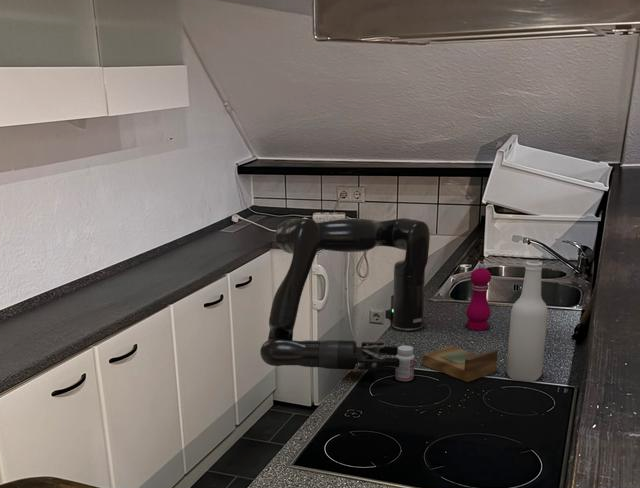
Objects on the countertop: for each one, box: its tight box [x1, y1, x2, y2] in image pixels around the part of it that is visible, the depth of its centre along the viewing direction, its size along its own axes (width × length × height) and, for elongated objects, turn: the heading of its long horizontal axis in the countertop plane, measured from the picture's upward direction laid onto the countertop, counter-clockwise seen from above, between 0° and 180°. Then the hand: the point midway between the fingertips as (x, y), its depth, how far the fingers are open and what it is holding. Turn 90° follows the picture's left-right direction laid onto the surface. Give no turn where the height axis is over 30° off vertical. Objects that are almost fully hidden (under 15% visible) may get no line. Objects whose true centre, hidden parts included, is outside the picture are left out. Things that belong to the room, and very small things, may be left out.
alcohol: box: [505, 260, 549, 382], centre depth 192 cm, size 9×9×30 cm
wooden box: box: [422, 345, 499, 383], centre depth 202 cm, size 16×11×6 cm
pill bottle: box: [394, 345, 415, 382], centre depth 197 cm, size 5×5×8 cm
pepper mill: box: [465, 263, 492, 331], centre depth 231 cm, size 7×7×20 cm
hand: (400, 356), depth 196 cm, fingers open, 8 cm apart
